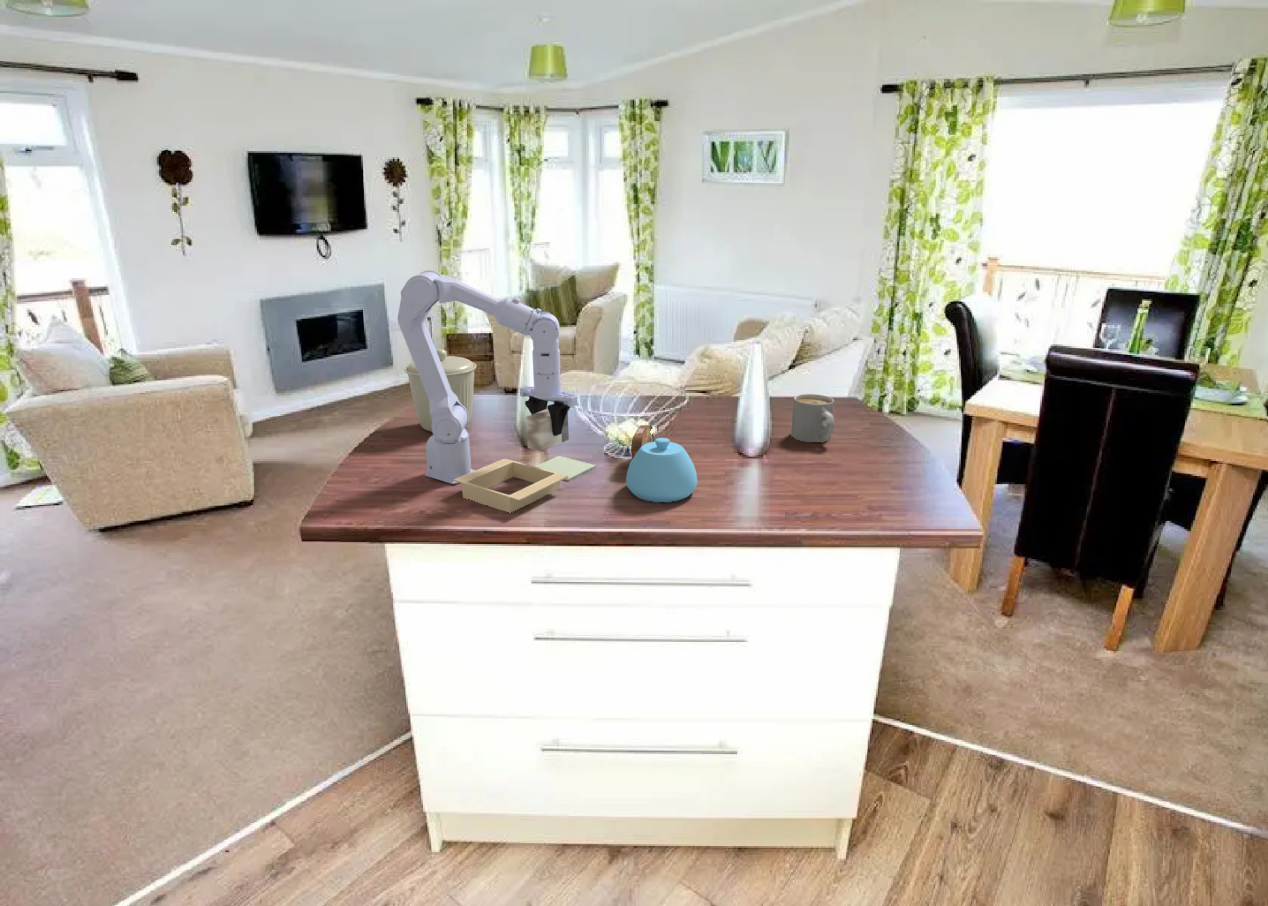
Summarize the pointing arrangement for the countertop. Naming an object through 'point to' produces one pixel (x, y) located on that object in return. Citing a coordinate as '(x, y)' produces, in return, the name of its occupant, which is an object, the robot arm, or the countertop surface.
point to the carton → (503, 470)
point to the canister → (459, 381)
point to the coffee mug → (812, 418)
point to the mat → (566, 467)
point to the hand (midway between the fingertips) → (549, 432)
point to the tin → (641, 438)
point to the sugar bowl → (661, 472)
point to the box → (544, 431)
